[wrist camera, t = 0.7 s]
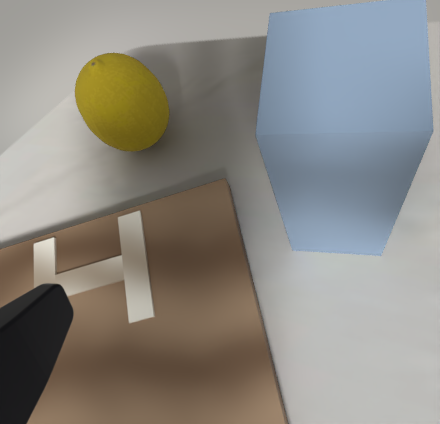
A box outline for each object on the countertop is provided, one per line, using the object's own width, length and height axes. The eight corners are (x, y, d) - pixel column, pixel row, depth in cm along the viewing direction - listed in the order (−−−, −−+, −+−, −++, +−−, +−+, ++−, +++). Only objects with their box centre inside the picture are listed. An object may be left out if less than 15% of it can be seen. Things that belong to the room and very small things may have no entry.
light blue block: (381, 255, 23) (433, 131, 11) (292, 250, 24) (255, 134, 12) (380, 176, 24) (425, -4, 13) (297, 176, 26) (269, 13, 14)
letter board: (320, 556, 18) (320, 569, 17) (-44, 614, 21) (-68, 629, 20) (229, 186, 27) (224, 176, 25) (-24, 265, 30) (-40, 260, 28)
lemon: (146, 183, 28) (84, 120, 21) (103, 144, 31) (34, 76, 24) (199, 129, 29) (155, 50, 22) (152, 95, 31) (99, 13, 24)
